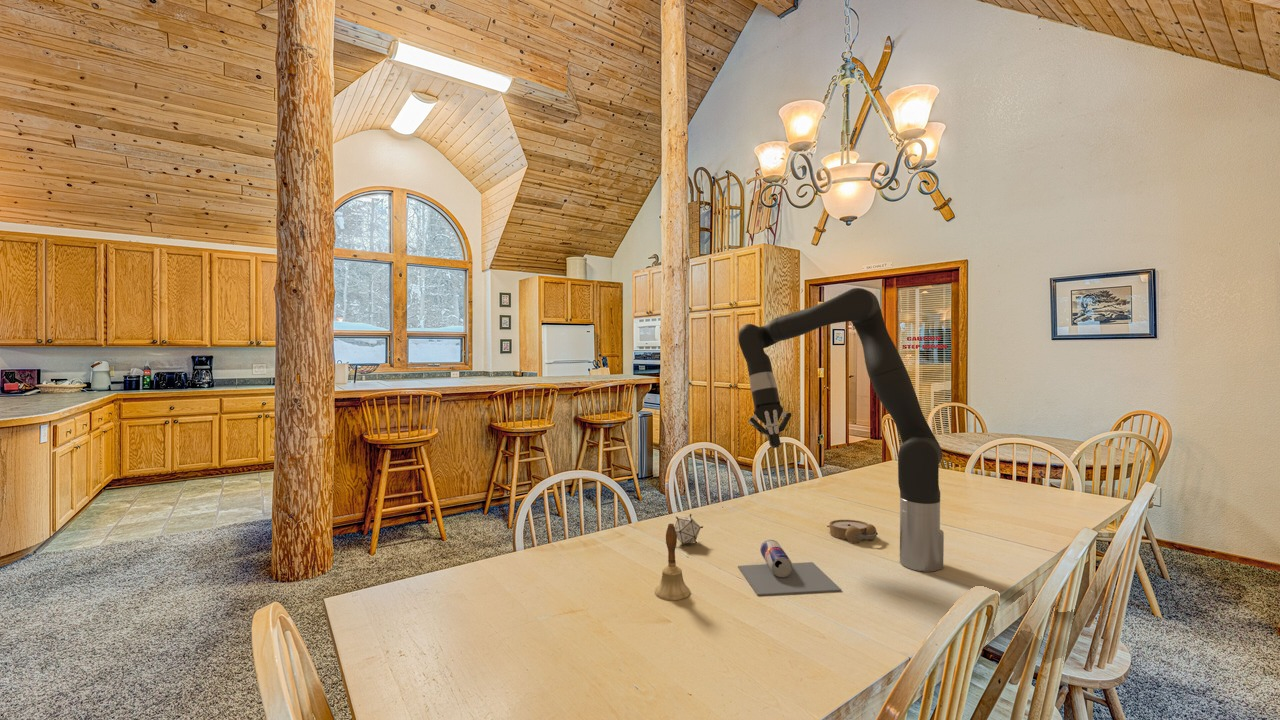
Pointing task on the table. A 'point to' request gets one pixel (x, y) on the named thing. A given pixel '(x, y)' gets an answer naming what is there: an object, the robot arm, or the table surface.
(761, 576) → the slate mat
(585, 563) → the table surface
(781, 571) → the energy drink
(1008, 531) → the table surface
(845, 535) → the alarm clock
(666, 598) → the hand bell
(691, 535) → the game die
